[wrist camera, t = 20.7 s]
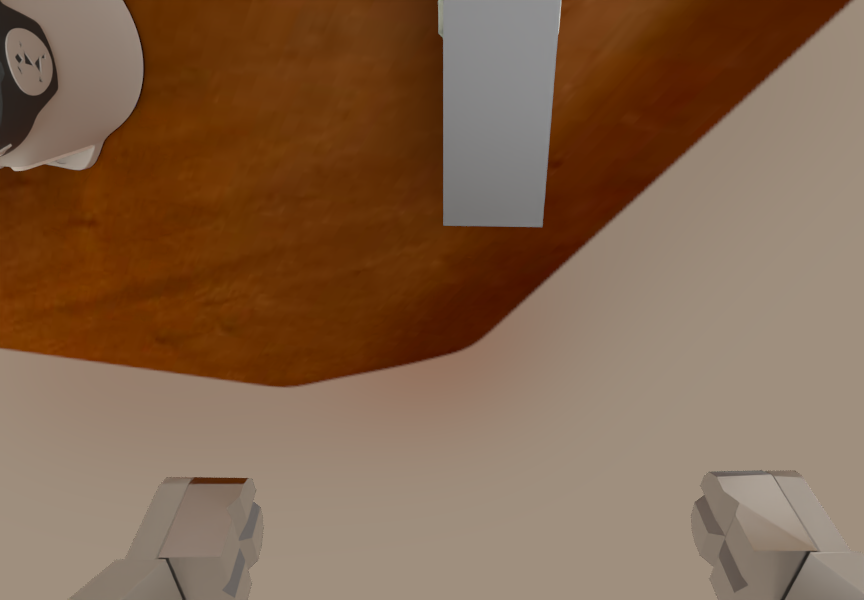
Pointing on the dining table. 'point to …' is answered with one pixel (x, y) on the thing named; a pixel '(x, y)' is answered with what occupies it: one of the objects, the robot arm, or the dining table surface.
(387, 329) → the dining table surface
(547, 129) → the cover
